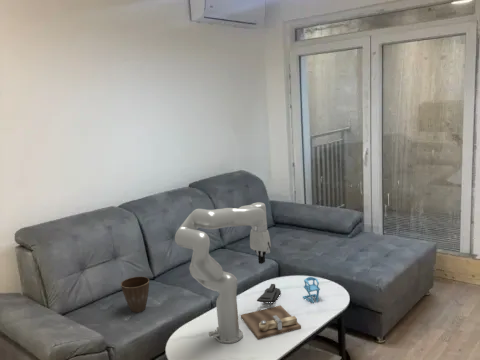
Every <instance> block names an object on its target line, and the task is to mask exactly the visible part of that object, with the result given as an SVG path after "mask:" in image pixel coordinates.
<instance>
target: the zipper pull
mask: <svg viewBox="0 0 480 360" xmlns="http://www.w3.org/2000/svg"><path fill="white" fill-rule="evenodd" d="M281 291H282V290H281V289H280V288H277V287H276V283H271V284H270V285H269V287H268V288H266V289H264V292H263V293H262V294H261V295H260V296H259V297H258V298H257V299H256V302H260V303H265V302H270V303H269V304H272V303H271V302H275V301H276V300H278V299H279V298H280V296H281V295H282V293H281ZM280 294H281V295H280ZM279 295H280V296H279ZM278 297H279V298H278ZM277 298H278V299H277ZM276 302H277V301H276ZM276 302H275V303H276Z"/></svg>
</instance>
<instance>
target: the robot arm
mask: <svg viewBox="0 0 480 360" xmlns="http://www.w3.org/2000/svg"><path fill="white" fill-rule="evenodd" d="M245 226H246V227H247V226H250V227H251V229H250V233H249V247H250V249H251V250H252V251H254V252H255V253H256V255H257V258H258V260H257V261H258V264H260V265H262V264H264V263H266V255H268V254H270V253H271V250H270V249H271V247H272V245H271V243H272V242H271V237H270V231H269V230H268V223H267V207H266V204H265V203H264V202H259V201H257V202H254V203H251V204H248V205H241V206H240V207H238V208H236V207H234V208H233V207H224V208H218V209H217V208H216V209H205V208H196V209H194V210H193V211H191V212H190V213H189V215H188V216H187V218H185V220H184V221H183V222H182V223H181V225H179V228H178V229H177V230H176V232H175V235H174V240H175V241H174V242H175V243H176V244H177V246H179V247H180V248H183V249H184V248H185V249H188V250H192V256H191V259H190V261H191V262H190V263H189V272H190V276H191V277H192V278H193V279H195V281H197V282H198V283H199V284H200V285H202V286H203V287H204V288H205V289H208V290H211V291H213V292H217V293H218V296H217V298H216V302H215V304H216V305H215V306H216V315H217V325H218V327H216V329H215V330H214V331H209V332H208V336H209V337H213V339H214V338H215V339H216V341H218V342H219V343H220V344H234V343H236V342H239V341H241V339H242V338H243V336H244V333H243V331H242V330H241V329H240V326H239V325H240V323H239V315H238V311H239V310H238V302H237V290H238V279H237V277H236V276H235V275H234V274H233V273H231V272H228V271H224V270H223V267H222V265H220V263H219V262H218V261H217V260H216V259H214V258H213V257H212V256H211V255H210V245H211V243H210V242H211V241H210V240H211V239H210V237H209V234H208V233H206V232H205V231H202V230H199V229H204V230H217V229H222V228H229V227H245Z"/></svg>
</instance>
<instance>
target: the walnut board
mask: <svg viewBox="0 0 480 360" xmlns="http://www.w3.org/2000/svg"><path fill="white" fill-rule="evenodd" d="M275 315H277V316H278V318H279V319H282V318H287V317H292V316H293V315H292V314H290V313H289V312H288V311H287V310H286V309H285V307H283V306H282V305H281V304H280V305H277V306H272V307H269V308H263V309H260V310H256V311H250V312H247V313H241V314H240V318H241V320H242V319H243V320H242V321H243V322H244V324H245V325H246V326H247V328H248V329H249V330H250V331H251V332H252V334H253V335H254V337H255V338H256V339H257V340H262V339H266V338H270V337H274V336H277V335H281V334H282V335H283V334H285V333H290V332H293V331H296V330H301V329H302V325H301V324H300V323H299V322H298V321H297V324H293V325H288V326H283V327H282V330H279V331H278V330H277V328H273V329H268V330H267V331H261V330H260V329H259V323H260V322H261V321H263V320H265V321H266V322H267V321H272V320H274V319H273V317H272V316H275Z"/></svg>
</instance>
